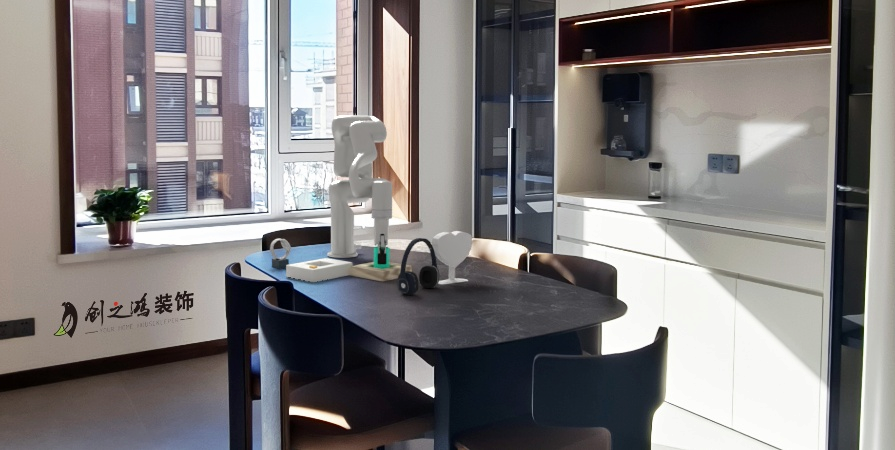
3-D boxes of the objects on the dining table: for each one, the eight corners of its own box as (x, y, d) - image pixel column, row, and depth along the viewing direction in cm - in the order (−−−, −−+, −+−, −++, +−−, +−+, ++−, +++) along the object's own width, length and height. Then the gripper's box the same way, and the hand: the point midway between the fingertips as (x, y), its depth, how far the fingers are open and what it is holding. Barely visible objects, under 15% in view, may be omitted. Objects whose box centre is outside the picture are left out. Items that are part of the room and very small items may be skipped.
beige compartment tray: (379, 269, 334) (380, 260, 334) (411, 275, 325) (411, 265, 324) (350, 275, 322) (350, 266, 321) (382, 281, 312) (383, 271, 312)
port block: (326, 269, 333) (326, 256, 332) (352, 274, 324) (352, 260, 323) (286, 277, 317) (286, 263, 316) (313, 282, 308) (313, 268, 308)
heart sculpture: (464, 277, 321) (465, 229, 319) (472, 280, 317) (473, 231, 315) (430, 282, 312) (430, 232, 309) (438, 284, 308) (439, 234, 306)
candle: (387, 277, 320) (387, 245, 318) (371, 276, 321) (371, 244, 319) (391, 274, 326) (391, 242, 324) (375, 273, 327) (376, 241, 325)
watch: (293, 266, 337) (293, 238, 336) (274, 269, 332) (274, 240, 331) (286, 264, 341) (286, 236, 340) (267, 266, 336) (267, 238, 335)
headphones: (411, 298, 287) (411, 243, 284) (393, 295, 290) (394, 241, 288) (442, 287, 304) (443, 235, 301) (425, 285, 307) (426, 234, 305)
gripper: (370, 211, 328) (370, 258, 331) (372, 216, 311) (372, 267, 314) (390, 211, 329) (390, 258, 332) (393, 217, 312) (393, 267, 315)
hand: (381, 262), depth 323 cm, fingers closed on candle, 4 cm apart
